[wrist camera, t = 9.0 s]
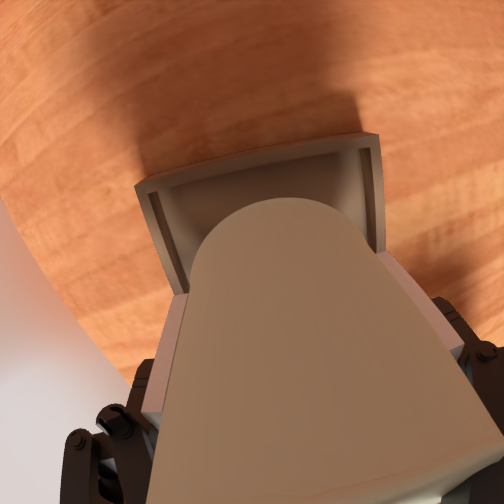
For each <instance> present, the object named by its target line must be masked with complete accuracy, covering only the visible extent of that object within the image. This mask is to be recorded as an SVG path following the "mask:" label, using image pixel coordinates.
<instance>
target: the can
mask: <svg viewBox="0 0 504 504" xmlns="http://www.w3.org/2000/svg"><path fill="white" fill-rule="evenodd" d="M503 456H504V436H503V435H502V433H501V432H500V430H499V428H498V427H497V425H496V424H495V422H494V421H493V419H492V418H491V416H490V414H489V413H488V411H487V409H486V408H485V406H484V404H483V403H482V401H481V400H480V398H479V396H478V395H477V393H476V391H475V390H474V388H473V387H472V385H471V383H470V382H469V380H468V379H467V377H466V376H465V374H464V373H463V371H462V370H461V368H460V367H459V365H458V364H457V362H456V361H455V359H454V358H453V356H452V355H451V353H450V352H449V350H448V349H447V347H446V346H445V345H444V343H443V342H442V340H441V339H440V337H439V336H438V335H437V333H436V332H435V330H434V329H433V328H432V326H431V325H430V323H429V322H428V321H427V319H426V318H425V317H424V315H423V314H422V313H421V311H420V310H419V309H418V307H417V306H416V305H415V303H414V302H413V301H412V300H411V298H410V297H409V296H408V294H407V293H406V292H405V291H404V289H403V288H402V287H401V286H400V284H399V283H398V282H397V280H396V279H395V278H394V277H393V275H392V274H391V273H390V272H389V270H388V269H387V268H386V266H385V265H384V264H383V263H382V262H381V260H380V259H379V258H378V257H377V255H376V254H375V253H374V252H373V251H372V249H371V248H370V247H369V245H368V244H367V242H366V240H365V238H364V236H363V235H362V233H361V232H360V230H359V229H358V228H357V226H356V225H355V224H354V223H353V222H352V221H351V220H350V219H349V218H347V217H346V216H345V215H344V214H342V213H341V212H339V211H338V210H336V209H334V208H332V207H330V206H328V205H326V204H323V203H320V202H317V201H314V200H309V199H304V198H292V197H291V198H274V199H269V200H264V201H260V202H256V203H254V204H251V205H248V206H246V207H243V208H242V209H240V210H238V211H236V212H234V213H232V214H231V215H229V216H228V217H226V218H225V219H224V220H223V221H221V222H220V223H219V224H218V225H217V226H216V227H215V228H214V229H213V230H212V231H211V232H210V233H209V234H208V235H207V237H206V238H205V240H204V241H203V242H202V244H201V246H200V248H199V249H198V251H197V254H196V256H195V259H194V262H193V265H192V269H191V276H190V291H189V296H188V300H187V305H186V309H185V313H184V317H183V321H182V325H181V330H180V334H179V338H178V343H177V347H176V352H175V356H174V361H173V366H172V370H171V375H170V380H169V385H168V390H167V395H166V399H165V404H164V409H163V414H162V418H161V423H160V428H159V434H158V439H157V444H156V449H155V455H154V460H153V466H152V472H151V478H150V484H149V489H148V494H147V500H146V504H438V503H440V502H441V498H442V497H443V496H444V495H446V494H447V493H448V492H450V491H451V490H453V489H454V488H455V487H457V486H458V485H459V484H461V483H462V482H463V481H465V480H466V479H467V478H469V477H470V476H471V475H472V474H474V473H476V472H478V471H479V470H481V469H483V468H485V467H487V466H488V465H490V464H493V463H495V462H498V461H500V459H501V458H502V457H503Z"/></svg>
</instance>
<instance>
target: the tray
mask: <svg viewBox="0 0 504 504" xmlns="http://www.w3.org/2000/svg"><path fill="white" fill-rule="evenodd" d="M134 188H135V191H136V194H137V197H138V200H139V203H140V206H141V209H142V211H143V214H144V217H145V220H146V223H147V226H148V229H149V231H150V234H151V237H152V239H153V242H154V245H155V247H156V250H157V253H158V255H159V258H160V261H161V263H162V266H163V268H164V271H165V273H166V276H167V278H168V281H169V283H170V285H171V288H172V290H173V293H174V295H181V294H186V293H188V294H189V291H190V276H191V269H192V265H193V262H194V259H195V256H196V254H197V251H198V249H199V248H200V246H201V244H202V242H203V241H204V240H205V238H206V237H207V235H208V234H209V233H210V232H211V231H212V230H213V229H214V228H215V227H216V226H217V225H218V224H219V223H220V222H221V221H223V220H224V219H225V218H226V217H228V216H229V215H231V214H232V213H234V212H236V211H238V210H240V209H242V208H243V207H246V206H248V205H251V204H254V203H256V202H260V201H264V200H269V199H274V198H291V197H292V198H304V199H309V200H314V201H317V202H320V203H323V204H326V205H328V206H330V207H332V208H334V209H336V210H338V211H339V212H341V213H342V214H344V215H345V216H346V217H347V218H349V219H350V220H351V221H352V222H353V223H354V224H355V225H356V226H357V228H358V229H359V230H360V232H361V233H362V235H363V236H364V238H365V240H366V242H367V244H368V245H369V247H370V248H371V249H372V251H373V252H374V253H375V254H376V253H381V252H385V251H386V227H385V199H384V183H383V170H382V159H381V150H380V141H379V135H378V134H373V133H368V132H354V133H346V134H338V135H331V136H324V137H317V138H311V139H305V140H299V141H293V142H287V143H282V144H276V145H271V146H266V147H261V148H256V149H252V150H247V151H242V152H238V153H234V154H229V155H225V156H221V157H217V158H213V159H209V160H205V161H201V162H197V163H193V164H189V165H186V166H182V167H179V168H175V169H172V170H168V171H165V172H161V173H158V174H155V175H151V176H148V177H146V178H144V179H143V180H141V181H140V182H139V183H137V184H136V185H135V186H134Z"/></svg>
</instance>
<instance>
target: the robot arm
mask: <svg viewBox="0 0 504 504" xmlns="http://www.w3.org/2000/svg"><path fill="white" fill-rule="evenodd" d="M376 255H377V257H378V258H379V259H380V260H381V262H382V263H383V264H384V265H385V266H386V268H387V269H388V270H389V272H390V273H391V274H392V275H393V277H394V278H395V279H396V280H397V282H398V283H399V284H400V286H401V287H402V288H403V289H404V291H405V292H406V293H407V294H408V296H409V297H410V298H411V300H412V301H413V302H414V303H415V305H416V306H417V307H418V309H419V310H420V311H421V313H422V314H423V315H424V317H425V318H426V319H427V321H428V322H429V323H430V325H431V326H432V328H433V329H434V330H435V332H436V333H437V335H438V336H439V337H440V339H441V340H442V342H443V343H444V345H445V346H446V347H447V349H448V350H449V352H450V353H451V355H452V356H453V358H454V359H455V361H456V362H457V364H458V365H459V367H460V368H461V370H462V371H463V373H464V374H465V376H466V377H467V379H468V380H469V382H470V383H471V385H472V387H473V388H474V390H475V391H476V393H477V395H478V396H479V398H480V400H481V401H482V403H483V404H484V406H485V408H486V409H487V411H488V413H489V414H490V416H491V418H492V419H493V421H494V422H495V424H496V425H497V427H498V428H499V430H500V432H501V433H502V435H503V436H504V347H498V348H497V347H496V346H495V345H494V344H493V343H491V342H489V341H481V340H480V339H479V338H478V337H477V336H476V334H475V333H474V332H473V330H472V329H471V328H470V327H469V325H468V324H467V323H466V322H465V321H464V319H463V318H461V316H460V314H459V313H458V312H456V310H455V309H454V307H453V306H452V305H451V304H450V303H449V302H448V301H446V300H444V299H443V298H441V297H437V298H434V299H430V298H429V297H428V296H427V295H426V293H425V292H424V291H423V290H422V289H421V287H420V286H419V285H418V284H417V283H416V282H415V280H414V279H413V278H412V277H411V276H410V275H409V274H408V272H407V271H406V270H405V269H404V268H403V267H402V266H401V265H400V263H399V262H398V261H397V260H396V259H395V258H394V257H393V256H392V255H391V254H390V252H389V251H385V252H381V253H376ZM188 296H189V294H188V293H186V294H181V295H175V296H173V299H172V302H171V305H170V309H169V312H168V315H167V318H166V322H165V325H164V328H163V332H162V335H161V338H160V342H159V345H158V349H157V352H156V356H155V358H154V359H144V361H143V362H142V363H141V364H140V366H139V367H138V368H137V371H136V375H135V378H134V379H135V380H134V381H133V384H132V388H131V391H130V394H129V398H128V401H127V405H126V407H124V406H123V405H121V404H116V403H115V404H110V405H108V406H106V407H104V408H103V409H102V410H101V411H100V412H99V414H98V416H97V418H96V425H97V426H98V427H99V428H100V429H101V430H102V431H103V432H101V433H97V434H93V435H92V434H91V433H90V432H89V431H87V430H86V429H81V428H80V429H77V430H74V431H73V432H71V433H70V434H69V436H68V437H67V440H66V443H65V449H64V457H63V466H62V476H61V488H60V504H146V500H147V494H148V489H149V484H150V478H151V472H152V466H153V460H154V455H155V449H156V444H157V439H158V434H159V428H160V423H161V418H162V414H163V409H164V404H165V399H166V395H167V390H168V385H169V380H170V375H171V370H172V366H173V361H174V356H175V352H176V347H177V343H178V338H179V334H180V330H181V325H182V321H183V317H184V313H185V309H186V305H187V300H188ZM440 504H504V456H503V457H502V458H501V459H500V461H498V462H495V463H493V464H490V465H488V466H487V467H485V468H483V469H481V470H479V471H478V472H476V473H474V474H472V475H471V476H470V477H469V478H467V479H466V480H465V481H463V482H462V483H461V484H459V485H458V486H457V487H455V488H454V489H453V490H451V491H450V492H448V493H447V494H446V495H444V496H443V497H442V498H441V503H440Z"/></svg>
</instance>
